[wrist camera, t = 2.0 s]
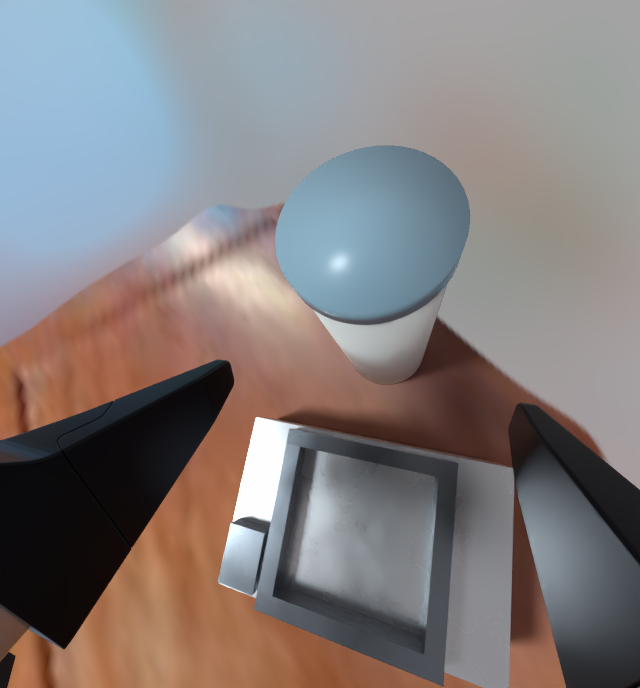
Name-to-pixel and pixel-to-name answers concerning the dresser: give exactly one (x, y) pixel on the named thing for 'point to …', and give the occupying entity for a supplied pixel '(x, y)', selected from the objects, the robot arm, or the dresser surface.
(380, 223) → the lidded container
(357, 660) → the dresser surface
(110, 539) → the robot arm
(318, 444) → the digital kitchen scale
